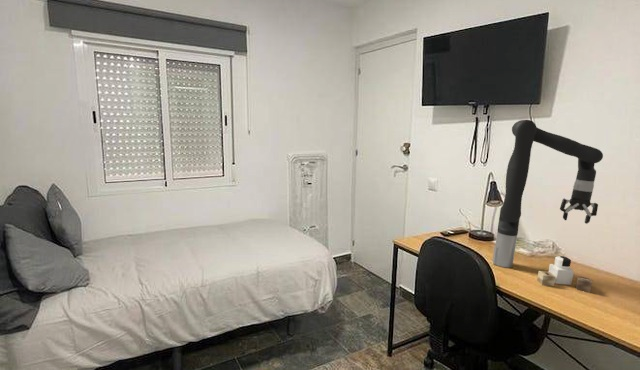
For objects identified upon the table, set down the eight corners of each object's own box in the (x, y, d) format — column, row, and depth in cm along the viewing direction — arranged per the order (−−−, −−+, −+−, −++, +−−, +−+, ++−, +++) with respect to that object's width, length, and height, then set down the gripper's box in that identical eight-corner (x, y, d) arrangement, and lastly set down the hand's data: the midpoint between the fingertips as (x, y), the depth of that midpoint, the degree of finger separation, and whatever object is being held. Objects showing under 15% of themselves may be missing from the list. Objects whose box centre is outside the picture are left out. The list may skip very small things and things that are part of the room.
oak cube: (541, 285, 156) (543, 275, 155) (537, 280, 161) (538, 270, 160) (553, 286, 155) (555, 276, 154) (548, 281, 160) (550, 271, 159)
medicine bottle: (562, 278, 164) (566, 255, 162) (571, 285, 157) (576, 261, 155) (547, 277, 165) (551, 254, 163) (555, 283, 158) (560, 259, 156)
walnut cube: (576, 289, 153) (578, 279, 152) (575, 285, 157) (577, 275, 156) (589, 293, 150) (592, 282, 150) (589, 289, 154) (591, 278, 154)
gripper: (567, 188, 162) (560, 220, 165) (603, 193, 156) (595, 226, 159) (563, 186, 168) (556, 217, 171) (598, 190, 163) (590, 222, 166)
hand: (575, 221), depth 165 cm, fingers open, 8 cm apart
